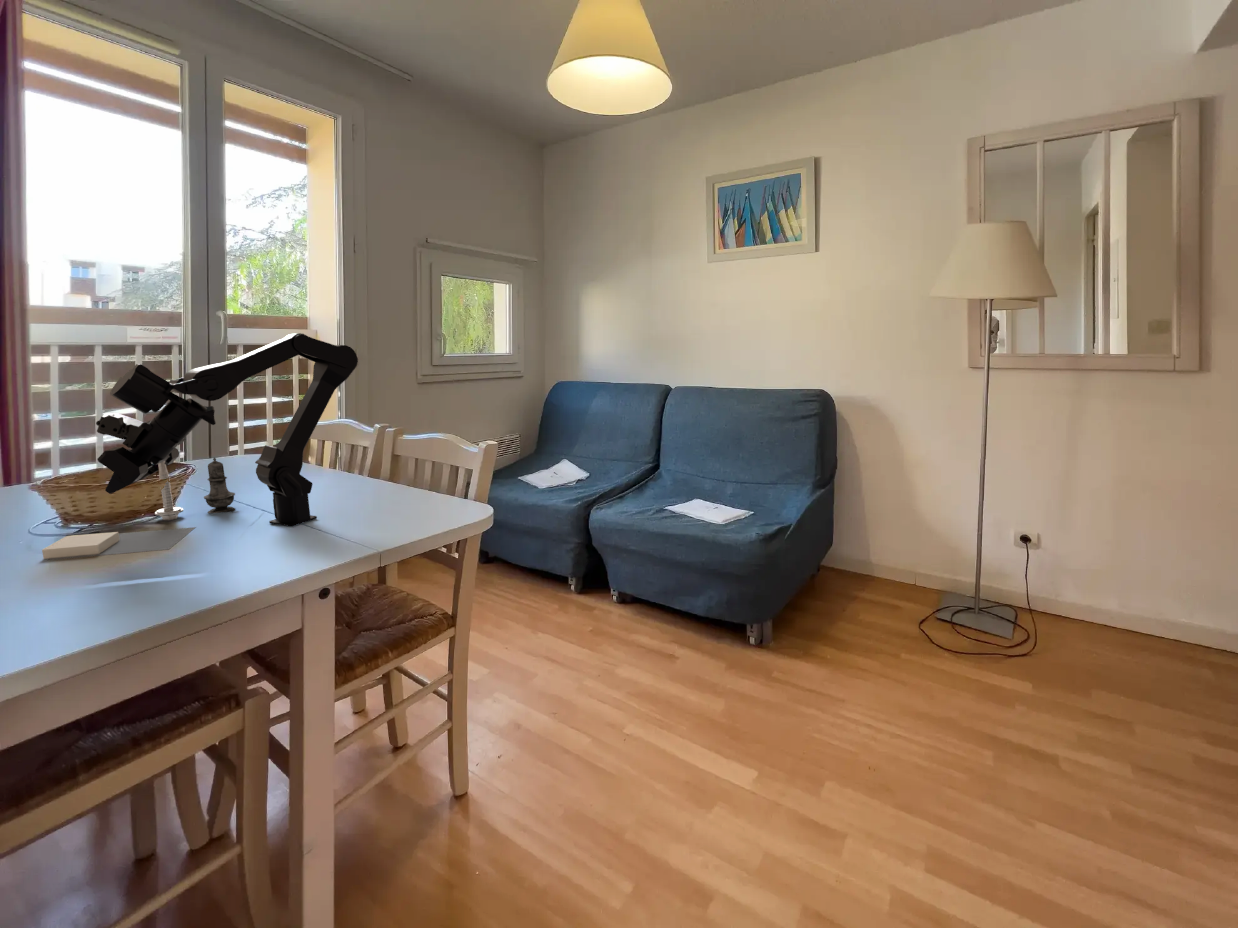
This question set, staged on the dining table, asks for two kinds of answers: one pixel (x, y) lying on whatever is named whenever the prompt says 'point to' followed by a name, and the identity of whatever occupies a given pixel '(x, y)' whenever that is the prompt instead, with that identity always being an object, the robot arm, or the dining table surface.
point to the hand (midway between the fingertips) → (108, 491)
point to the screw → (167, 497)
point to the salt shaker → (218, 489)
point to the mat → (142, 542)
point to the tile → (81, 545)
